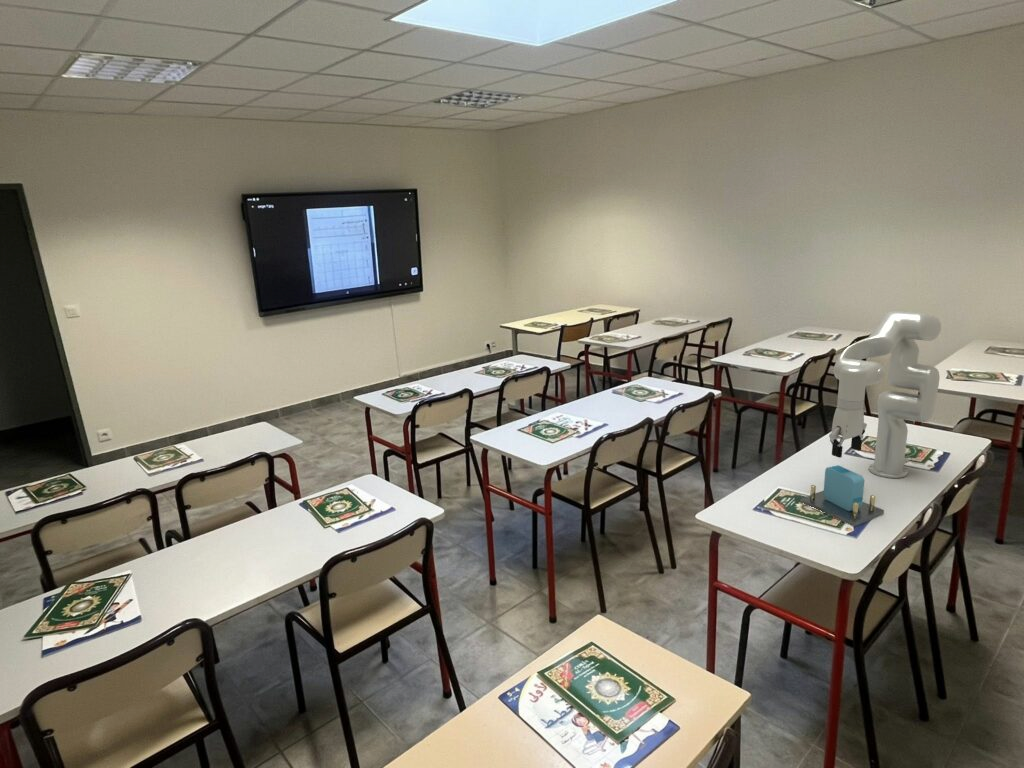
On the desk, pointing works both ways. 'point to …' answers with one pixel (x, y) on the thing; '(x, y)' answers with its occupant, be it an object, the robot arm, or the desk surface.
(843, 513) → the plate
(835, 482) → the data package
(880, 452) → the robot arm
